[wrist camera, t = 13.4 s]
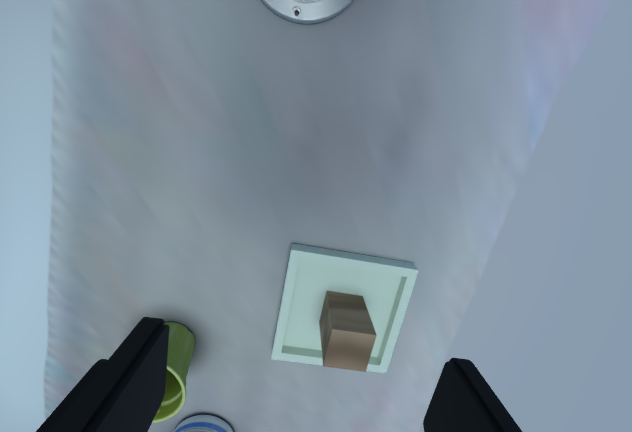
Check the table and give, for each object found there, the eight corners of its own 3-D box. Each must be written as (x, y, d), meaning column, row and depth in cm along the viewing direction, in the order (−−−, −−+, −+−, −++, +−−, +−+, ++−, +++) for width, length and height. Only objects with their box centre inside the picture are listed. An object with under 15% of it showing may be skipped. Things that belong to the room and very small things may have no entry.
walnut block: (326, 290, 41) (332, 329, 33) (362, 295, 41) (376, 335, 33) (319, 322, 42) (323, 366, 34) (354, 327, 42) (365, 371, 35)
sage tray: (291, 243, 39) (291, 249, 37) (412, 262, 41) (418, 270, 39) (272, 348, 43) (271, 359, 41) (382, 362, 45) (385, 373, 43)
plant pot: (206, 369, 44) (184, 426, 36) (139, 364, 43) (100, 421, 35) (209, 314, 41) (186, 362, 33) (137, 307, 41) (95, 354, 32)
